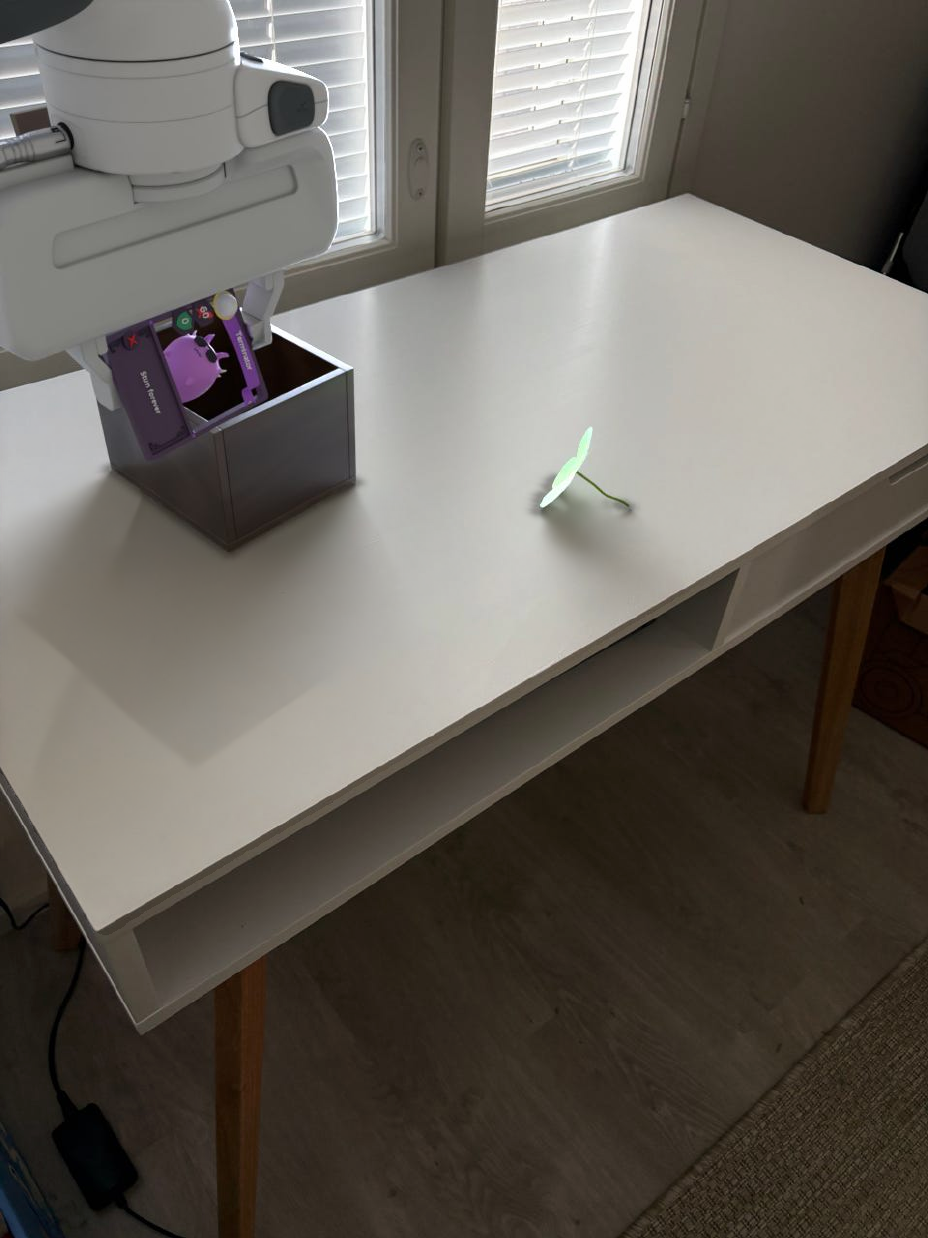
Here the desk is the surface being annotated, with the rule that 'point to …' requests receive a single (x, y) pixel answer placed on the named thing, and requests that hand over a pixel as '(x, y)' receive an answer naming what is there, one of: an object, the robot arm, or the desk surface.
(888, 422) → the desk surface
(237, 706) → the desk surface
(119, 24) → the robot arm
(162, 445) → the game card
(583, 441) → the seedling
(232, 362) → the case
